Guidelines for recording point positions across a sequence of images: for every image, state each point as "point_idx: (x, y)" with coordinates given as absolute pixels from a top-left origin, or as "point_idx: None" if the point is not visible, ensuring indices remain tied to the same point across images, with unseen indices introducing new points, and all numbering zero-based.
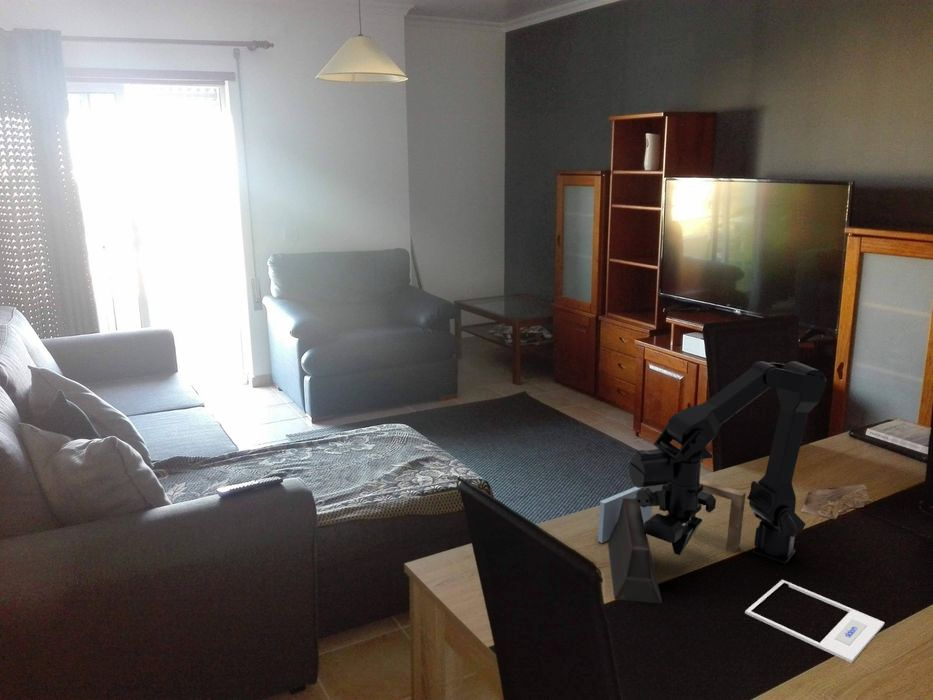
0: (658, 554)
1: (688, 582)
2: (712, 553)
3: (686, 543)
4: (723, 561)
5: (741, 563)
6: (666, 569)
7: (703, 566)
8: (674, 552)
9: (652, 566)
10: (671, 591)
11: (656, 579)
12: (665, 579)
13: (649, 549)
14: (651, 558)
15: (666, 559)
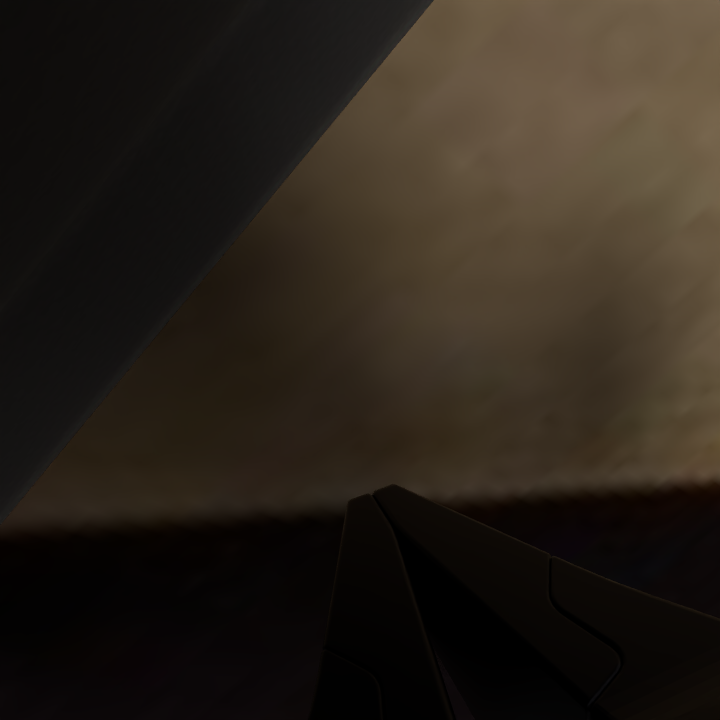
0: (394, 165)
1: (260, 605)
2: (708, 397)
3: (472, 711)
4: (667, 501)
5: (713, 559)
6: (252, 396)
7: (524, 492)
8: (347, 510)
9: (66, 395)
10: (29, 655)
11: (11, 501)
12: (118, 509)
13: (353, 70)
14: (230, 220)
15: (384, 275)
